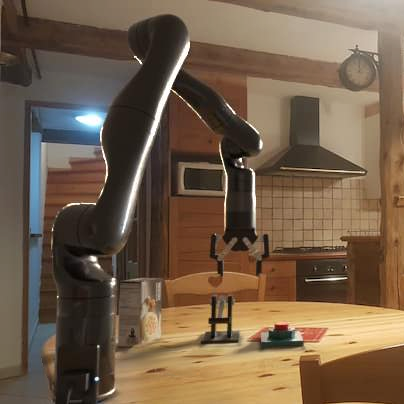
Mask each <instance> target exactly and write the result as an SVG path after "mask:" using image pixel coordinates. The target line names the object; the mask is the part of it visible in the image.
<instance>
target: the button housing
mask: <svg viewBox="0 0 404 404" xmlns="http://www.w3.org/2000/svg"><path fill="white" fill-rule="evenodd" d="M267 329H268V330H267V331H262V332H260V347H261V348H264V349H265V348H287V347H288V348H289V347H291V348H292V347H304V343H305V340H304V338H303V336H302V334H301V331H300V330H296V329H295V327H292V326H289V330H284V331H278V330H274V326H272V327H269V328H267Z"/></svg>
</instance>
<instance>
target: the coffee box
mask: <svg viewBox="0 0 404 404" xmlns="http://www.w3.org/2000/svg"><path fill="white" fill-rule="evenodd" d="M118 287H119V288H118V333H117V334H118V335H117V346H118V347H123V348H133V347H134V346H136V345H141V344H144V343H145V344H146V343H148V342H151V341H153V340H156V339H160V338H162V313H163V312H162V309H163V308H162V307H163V306H162V305H163V303H162V302H163V277H138V278H132V279H131V278H130V279H126V280H125V279H124V280H120V281H119V282H118Z"/></svg>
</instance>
